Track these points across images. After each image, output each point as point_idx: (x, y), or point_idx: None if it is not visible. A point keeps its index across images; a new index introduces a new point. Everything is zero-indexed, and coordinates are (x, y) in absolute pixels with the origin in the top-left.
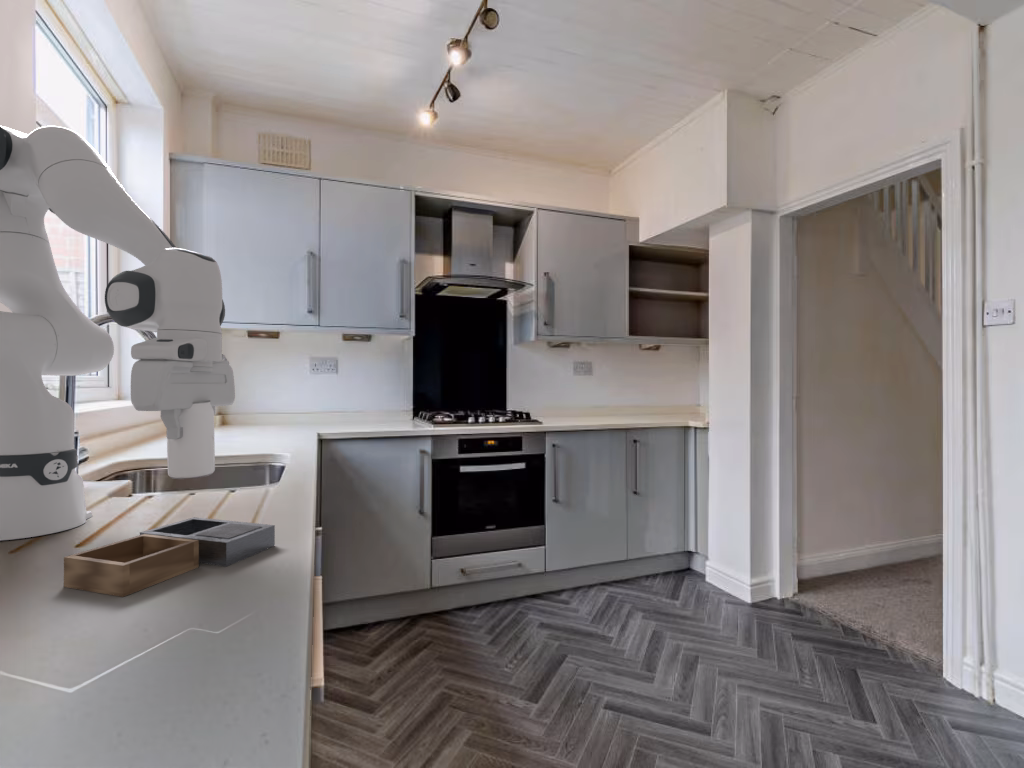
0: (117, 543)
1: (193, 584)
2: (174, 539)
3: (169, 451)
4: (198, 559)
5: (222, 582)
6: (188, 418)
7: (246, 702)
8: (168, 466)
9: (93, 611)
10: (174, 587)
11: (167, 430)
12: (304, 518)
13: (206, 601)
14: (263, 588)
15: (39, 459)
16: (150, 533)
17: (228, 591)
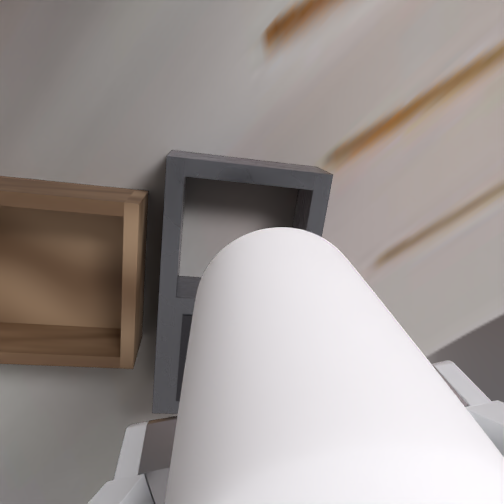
0: (54, 209)
1: (71, 389)
2: (122, 315)
3: (191, 335)
4: (139, 345)
5: (94, 424)
6: None
7: None
8: (202, 285)
9: None
10: (49, 371)
11: (120, 465)
12: (490, 313)
13: (24, 454)
14: (94, 490)
15: None
16: (167, 193)
17: (67, 456)
